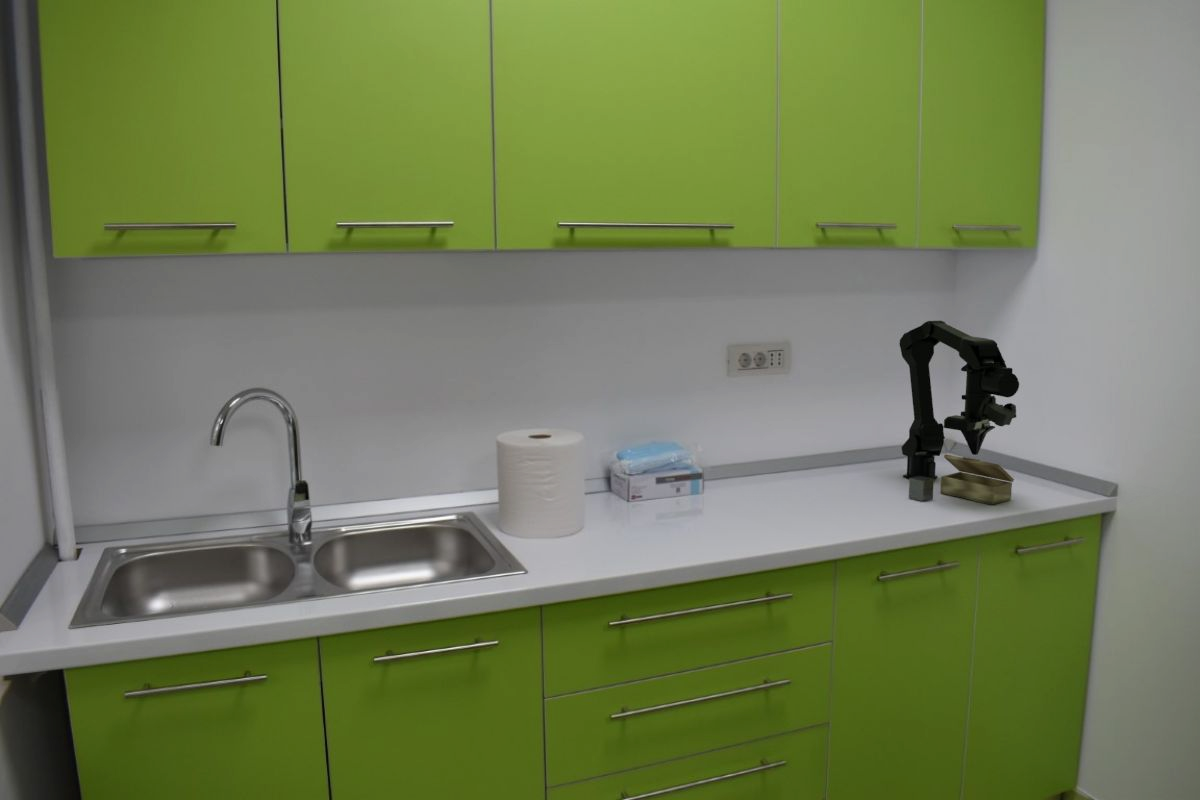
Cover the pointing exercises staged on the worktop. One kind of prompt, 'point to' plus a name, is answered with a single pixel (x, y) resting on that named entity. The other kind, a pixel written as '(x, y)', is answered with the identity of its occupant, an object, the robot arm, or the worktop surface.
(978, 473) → the lid
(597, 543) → the worktop surface
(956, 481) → the box
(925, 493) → the block
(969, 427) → the robot arm
